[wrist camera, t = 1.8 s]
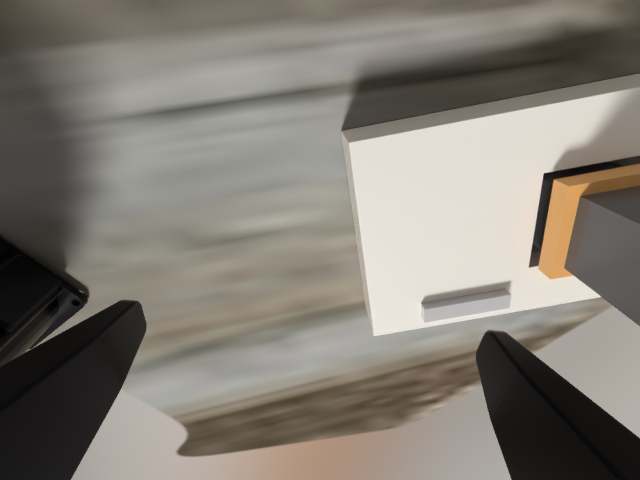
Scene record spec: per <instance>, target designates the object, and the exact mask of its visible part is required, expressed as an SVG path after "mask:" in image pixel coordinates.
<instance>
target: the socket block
mask: <svg viewBox="0 0 640 480" xmlns="http://www.w3.org/2000/svg"><path fill="white" fill-rule="evenodd" d="M341 134H342V141H343V149H344V156H345V163H346V170H347V177H348V184H349V192H350V199H351V206H352V213H353V220H354V228H355V235H356V242H357V249H358V256H359V263H360V271H361V278H362V285H363V292H364V299H365V306H366V309H367V313H368V317H369V320H370V324H371V327H372V331H373V335H374V336H378V335H383V334H389V333H395V332H401V331H407V330H412V329H418V328H424V327H430V326H436V325H441V324H447V323H453V322H459V321H465V320H470V319H476V318H482V317H488V316H494V315H499V314H505V313H511V312H517V311H523V310H529V309H534V308H540V307H546V306H552V305H558V304H563V303H569V302H575V301H581V300H587V299H592V298H598V297H601V296H600V295H598V294H597V293H596V292H595V291H593V290H592V289H591V288H589V287H588V286H587V285H585V284H584V283H583V282H581V281H580V280H579V279H578V278H576V277H575V276H574V275H573V276H568V277H562V278H556V279H551V280H550V279H549V278H548V277H547V276H546V275H544V274H543V273H542V272H541V271H540V270H539V269H538V267H539V261H540V255H541V250H540V249H538V248H537V247H536V246H534V245H533V237H534V231H535V225H536V219H537V212H538V206H539V200H540V194H541V187H542V181H543V175H544V173H548V172H553V171H558V170H564V169H569V168H575V167H580V166H585V165H591V164H596V163H602V162H607V161H609V162H612V163H615V164H619V165H622V166H630V165H635V164H640V73H639V74H634V75H629V76H624V77H618V78H613V79H608V80H603V81H598V82H592V83H587V84H582V85H577V86H572V87H567V88H561V89H556V90H551V91H546V92H541V93H536V94H530V95H525V96H520V97H515V98H510V99H504V100H499V101H494V102H489V103H484V104H479V105H473V106H468V107H463V108H458V109H453V110H447V111H442V112H437V113H432V114H427V115H422V116H416V117H411V118H406V119H401V120H396V121H391V122H385V123H380V124H375V125H370V126H365V127H359V128H354V129H349V130H344V131H341Z"/></svg>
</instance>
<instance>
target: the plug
mask: <svg viewBox="0 0 640 480" xmlns="http://www.w3.org/2000/svg"><path fill="white" fill-rule="evenodd" d="M533 245H534V246H536V247H537V248H538V249H540V250H541V255H540V261H539V267H538V269H539V270H540V271H541V272H542V273H543V274H544V275H546V276H547V277H548V278H549V279H550V280H551V279H556V278H562V277H568V276H573V275H574V276H575V277H576V278H578V279H579V280H580V281H581V282H583V283H584V284H585V285H587V286H588V287H589V288H591V289H592V290H593V291H595V292H596V293H597V294H598V295H600V296H601V297H602V298H604V299H605V300H606V301H608V302H609V303H610V304H612V305H613V306H614V307H615V308H617V309H618V310H619V311H621V312H622V313H623V314H625V315H626V316H627V317H629V318H630V319H631V320H632V321H634V322H635V323H637V324H638V325H639V326H640V164H635V165H630V166H622V165H619V164H615V163H612V162H609V161H607V162H602V163H596V164H591V165H585V166H580V167H575V168H569V169H564V170H558V171H553V172H548V173H544V175H543V181H542V187H541V194H540V200H539V206H538V212H537V219H536V225H535V231H534V237H533Z"/></svg>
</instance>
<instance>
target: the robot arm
mask: <svg viewBox="0 0 640 480" xmlns="http://www.w3.org/2000/svg"><path fill="white" fill-rule="evenodd" d="M76 300H77V301H76ZM78 301H79V302H78ZM87 302H88V299H87V297H86V296H85V295H83V294H82V293H80V292H79V291H78V290H76V289H75V288H73V287H72V286H70V285H69V284H67V283H66V282H65V281H63V280H62V279H60V278H59V277H57V276H56V275H54V274H53V273H51V272H50V271H49V270H47V269H46V268H44V267H43V266H41V265H40V264H38V263H37V262H36V261H34V260H33V259H31V258H30V257H28V256H27V255H25V254H24V253H22V252H21V251H20V250H18V249H17V248H15V247H14V246H12V245H11V244H9V243H8V242H7V241H5V240H4V239H2V238H1V237H0V480H71V478H72V476H73V475H74V473H75V471H76V469H77V467H78V466H79V464H80V462H81V460H82V458H83V457H84V455H85V453H86V451H87V449H88V448H89V446H90V444H91V442H92V440H93V439H94V437H95V435H96V433H97V431H98V430H99V428H100V426H101V424H102V422H103V420H104V419H105V417H106V415H107V413H108V412H109V410H110V408H111V406H112V404H113V403H114V400H115V399H116V397H117V395H118V393H119V391H120V390H121V388H122V385H123V383H124V381H125V379H126V377H127V374H128V372H129V370H130V367H131V365H132V363H133V360H134V358H135V356H136V353H137V351H138V349H139V346H140V344H141V342H142V339H143V337H144V335H145V332H146V320H145V317H144V313H143V310H142V306H141V304H140V302H138V301H134V300H121V301H119V302H117V303H115V304H113V305H111V306H110V307H108V308H106V309H104V310H102V311H100V312H99V313H97V314H95V315H93V316H91V317H90V318H88V319H86V320H84V321H82V322H80V323H79V324H77V325H75V326H73V327H71V328H69V329H68V330H66V331H64V332H62V333H60V334H58V335H57V336H55V337H53V338H51V339H49V340H47V341H46V342H44V343H42V344H40V345H38V346H37V347H35V346H36V345H37V344H38V343H40V342H41V341H42V340H43V339H45V338H46V337H47V336H48V335H49V334H51V333H52V332H53V331H54V330H56V329H57V328H58V327H59V326H61V325H62V324H63V323H64V322H66V321H67V320H68V319H69V318H71V317H72V316H73V315H74V314H75V313H77V312H78V311H79V310H80V309H82V308H83V307H84V306H85V304H86V303H87ZM33 347H35V348H33ZM32 348H33V349H32ZM28 349H31V350H29V351H27V350H28ZM26 351H27V352H26ZM25 352H26V353H25ZM476 362H477V366H478V370H479V374H480V378H481V383H482V387H483V391H484V395H485V399H486V403H487V408H488V411H489V415H490V419H491V422H492V425H493V428H494V431H495V434H496V437H497V439H498V442H499V445H500V448H501V451H502V454H503V456H504V459H505V462H506V464H507V468H508V471H509V474H510V476H511V479H512V480H640V438H639V437H637V436H636V435H635V434H633V433H632V432H631V431H630V430H628V429H627V428H626V427H625V426H623V425H622V424H621V423H620V422H618V421H617V420H616V419H614V418H613V417H612V416H611V415H610V414H608V413H607V412H606V411H604V410H603V409H602V408H601V407H599V406H598V405H597V404H596V403H594V402H593V401H592V400H591V399H589V398H588V397H586V396H585V395H584V394H583V393H582V392H580V391H579V390H578V389H577V388H575V387H574V386H573V385H572V384H570V383H569V382H568V381H567V380H565V379H564V378H563V377H561V376H560V375H559V374H558V373H556V372H555V371H554V370H553V369H551V368H550V367H549V366H548V365H546V364H545V363H544V362H542V361H541V360H540V359H539V358H537V357H536V356H535V355H534V354H532V353H531V352H530V351H529V350H527V349H526V348H525V347H524V346H522V345H521V344H520V343H519V342H517V341H516V340H515V339H513V338H512V337H511V336H510V335H508V334H507V333H506V332H503V331H496V330H488V331H486V332H485V334H484V336H483V338H482V340H481V342H480V345H479V347H478V349H477V352H476Z"/></svg>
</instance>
